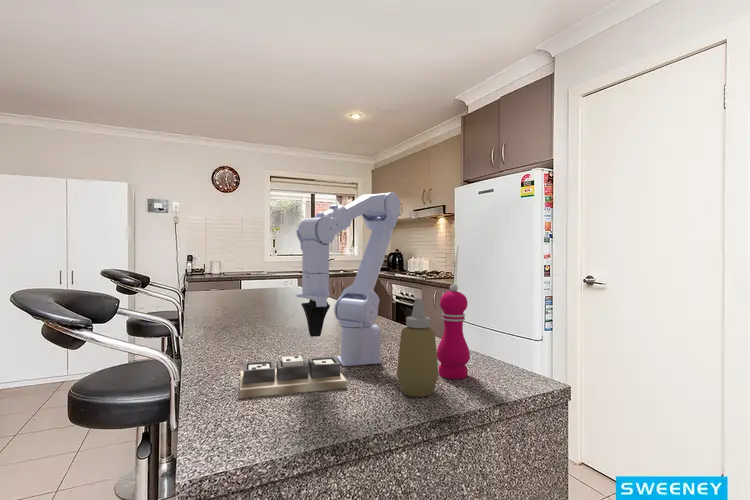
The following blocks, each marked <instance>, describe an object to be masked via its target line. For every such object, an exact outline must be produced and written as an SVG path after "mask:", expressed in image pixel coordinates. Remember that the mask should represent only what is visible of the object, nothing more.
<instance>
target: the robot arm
mask: <svg viewBox="0 0 750 500" xmlns="http://www.w3.org/2000/svg"><path fill="white" fill-rule="evenodd" d="M399 198H400V197H399V196H398V195H397V193H396V192H393V191H389V192H384V193H373V194H367V193H366V194H363V195H361V196H358V197H357V199H355V200H353V201H352V202H350V203H348V204H347V205H345V206H343V205H340V204H336V203H335V204H332V205H329V209H327V210H326V211H319V212H317V213H316V215H315V216H314V217H308V218H304V219H302V221H300V223H299V225H298V229H297V230H296V237H297V239H298V240H299V243H300V244H299V245H300V250H301V252H302V257H301V258H302V259H301V260H302V262H301V263H302V267H301V269H302V270H301V271H302V273H301V274H302V276H301V277H302V278H301V279H302V280H301V281H302V282H301V284H302V286H301V292H299V293H296V297H297V298H302V299H306V300H309V301H308V302H302V303H301V307H302V309H303V311H304V315H305V318H306V321H307V328H308V332H309V333H308V334H309V336H310V338H314V337H321V335H322V332H323V326H324V322H325V318H326V316H327V313H328V311H329V309H330V308H331V305H330V304H329V302H328V298H330V296H331V294H330V289H329V288H330V244H332V243H333V242H334V240H335V237H336V235H338V234H340V233H341V232H343V231H344V230H346V229H348V228H349V227H350V226H351V224H352V220H353V219H357V218H358V217H360V216H361V217H362V219H363V222H364V224H365V225H366V228H367V229H368V230H370V231H371V233H370V236H369V239H368V241H367V244H366V247H365V249H364V253H363V256H362V259H361V261H360V263H359V266H358V269H357V272H356V276H355V278H354V280H353V283H352V284H351V285H349V286H347V287H346V288H344V289H343V290H342V293H341V294H340V296H339V297H338V299H337V300H336V301H335V304H334V306H333V307H334V308H333V312H334V313H333V314H334V316H335V319H336V320H337V322H338V325H340V326H341V327H340V329H341V330H340V335H341V336H340V355H336V359H337V360H338V361H339V362H340V364H341V365H342V366H343V367H351V366H352V367H353V366H363V365H364V366H365V365H377V364H382V361H381V356H382V355H381V354H382V353H381V346H382V345H381V344H382V343H381V340H382V339H381V338H382V336H381V329H380V327H379V325H378V324H374V323H375V322H376V320H377V318H378V314H379V303H380V301H381V300H380V297H379V295H378V294H377V293H376V291H374V289H375V286H376V284H377V281H378V278H379V274H380V271H381V268H382V266H383V264H384V263H383V262H384V260H385V257H386V253H387V251H388V248H389V244H390V242H391V240H392V236H393V233H394V228H396V226H397V222H398V218H399V216H400V213H401V211H402V209H401V204H400V199H399Z"/></svg>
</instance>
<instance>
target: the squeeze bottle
mask: <svg viewBox="0 0 750 500" xmlns="http://www.w3.org/2000/svg"><path fill="white" fill-rule="evenodd" d="M423 306H424V305H423V301H422V298H420V297H419V298H417V297H416V298H415V299H414V303H413V307H412V312H411V316H409V315H408V316H406V318H405V326H406V327H404V328H402V329H401V332H400V341H399V351H398V358H397V360H398V361H397V368H396V376H397V379H398V382H399V385H400V390H401V392H402V393H403V394H405V396H410V397H415V398H416V397H417V398H423V397H424V398H425V397H428V396H431V395H432V394H433V393H434V390H435V388H436V386H437V385H436V384H437V382H438V378H439V376H440V375H439V365H438V364H439V363H438V359H437V343H436V341H437V340H436V332H435V330H434V329H432V328H430V327H431V317H429V316H426V315H425V310H424V307H423Z"/></svg>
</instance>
